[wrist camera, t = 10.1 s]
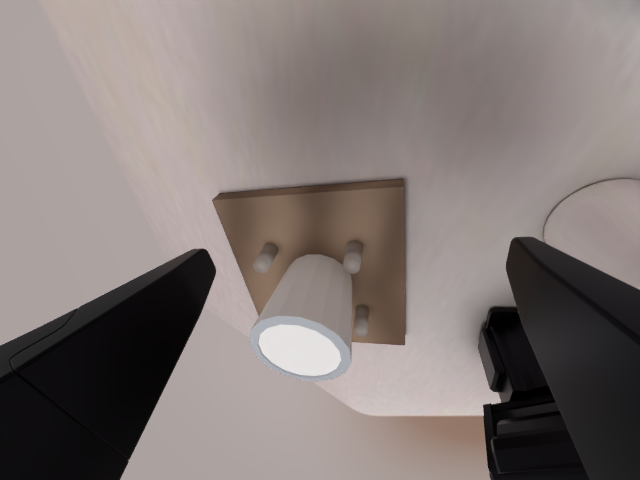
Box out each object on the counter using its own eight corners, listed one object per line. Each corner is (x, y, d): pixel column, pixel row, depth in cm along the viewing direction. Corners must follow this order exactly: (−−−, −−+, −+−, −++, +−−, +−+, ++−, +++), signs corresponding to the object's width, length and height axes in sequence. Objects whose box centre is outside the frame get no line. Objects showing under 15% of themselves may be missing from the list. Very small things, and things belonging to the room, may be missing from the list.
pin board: (403, 179, 19) (405, 203, 16) (404, 334, 28) (406, 368, 25) (219, 193, 23) (194, 215, 20) (270, 327, 31) (258, 356, 28)
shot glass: (369, 304, 25) (363, 382, 19) (297, 312, 27) (274, 383, 21) (346, 240, 21) (331, 312, 16) (267, 255, 24) (229, 322, 18)
